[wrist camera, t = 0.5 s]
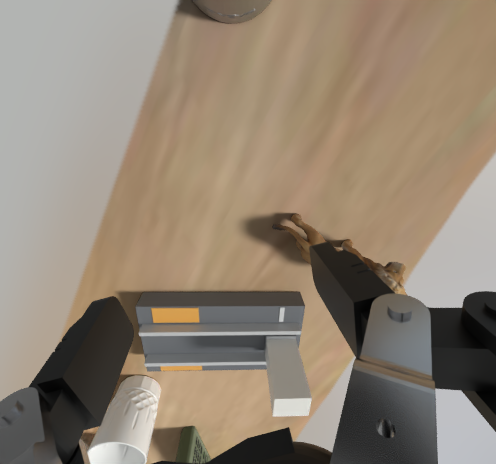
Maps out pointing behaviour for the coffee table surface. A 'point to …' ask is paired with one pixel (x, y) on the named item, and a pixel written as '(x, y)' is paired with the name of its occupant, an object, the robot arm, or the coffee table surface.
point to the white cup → (127, 424)
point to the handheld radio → (191, 447)
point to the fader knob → (286, 376)
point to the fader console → (214, 328)
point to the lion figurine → (387, 274)
